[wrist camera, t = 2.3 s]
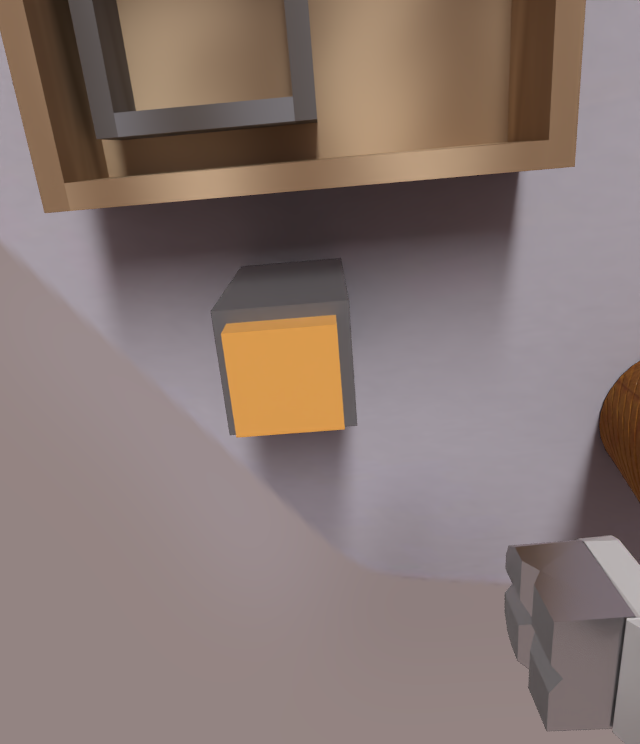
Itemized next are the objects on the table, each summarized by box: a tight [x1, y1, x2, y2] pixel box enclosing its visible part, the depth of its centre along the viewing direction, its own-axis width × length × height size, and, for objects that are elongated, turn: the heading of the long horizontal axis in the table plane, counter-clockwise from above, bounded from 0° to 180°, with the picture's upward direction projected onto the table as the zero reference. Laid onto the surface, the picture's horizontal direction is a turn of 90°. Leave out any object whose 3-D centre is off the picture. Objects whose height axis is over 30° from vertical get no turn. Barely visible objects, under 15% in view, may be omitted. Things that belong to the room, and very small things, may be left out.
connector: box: [211, 258, 357, 437], centre depth 20 cm, size 4×4×8 cm
